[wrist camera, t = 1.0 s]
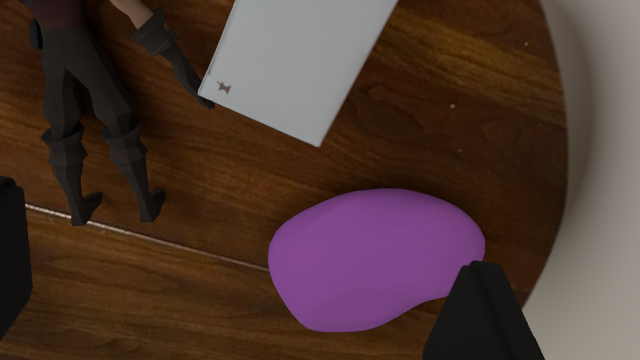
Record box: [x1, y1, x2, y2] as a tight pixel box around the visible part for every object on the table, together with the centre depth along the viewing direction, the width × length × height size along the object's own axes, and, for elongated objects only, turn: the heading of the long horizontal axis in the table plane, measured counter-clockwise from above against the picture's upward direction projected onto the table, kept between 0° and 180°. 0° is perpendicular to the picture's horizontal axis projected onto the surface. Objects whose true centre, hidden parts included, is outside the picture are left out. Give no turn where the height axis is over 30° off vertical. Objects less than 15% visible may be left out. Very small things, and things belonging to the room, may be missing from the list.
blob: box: [268, 188, 485, 332], centre depth 35 cm, size 14×11×5 cm
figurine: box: [18, 0, 215, 226], centre depth 29 cm, size 15×4×20 cm
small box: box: [198, 0, 399, 147], centre depth 24 cm, size 8×6×10 cm
